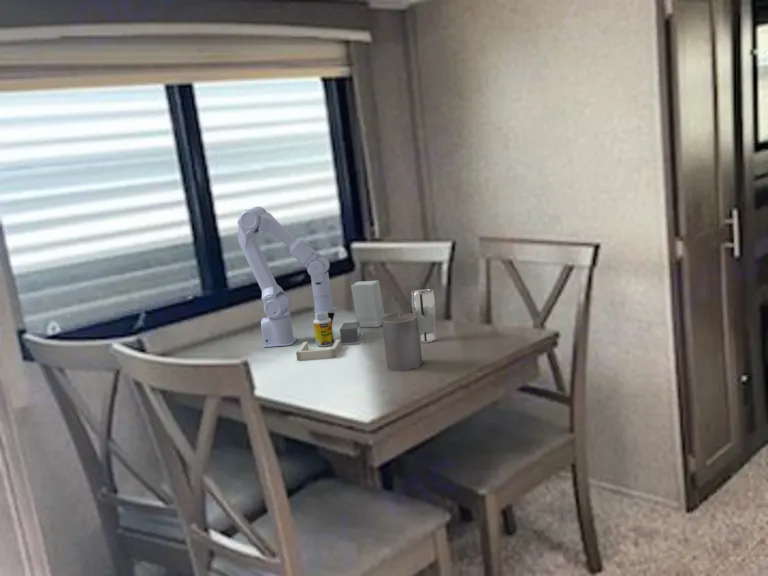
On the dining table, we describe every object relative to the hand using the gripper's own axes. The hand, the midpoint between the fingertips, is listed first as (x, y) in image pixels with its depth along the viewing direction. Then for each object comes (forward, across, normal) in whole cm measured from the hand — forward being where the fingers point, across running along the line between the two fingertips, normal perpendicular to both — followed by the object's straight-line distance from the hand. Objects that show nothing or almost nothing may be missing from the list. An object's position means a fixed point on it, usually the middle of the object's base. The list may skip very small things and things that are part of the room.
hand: (327, 336), depth 245 cm
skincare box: (+2, +15, -12) cm, 19 cm away
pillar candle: (+2, -33, -27) cm, 43 cm away
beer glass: (+2, -9, -32) cm, 33 cm away
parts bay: (+1, -14, 0) cm, 14 cm away
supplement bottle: (+1, -5, 0) cm, 5 cm away
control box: (+1, -3, -8) cm, 9 cm away
